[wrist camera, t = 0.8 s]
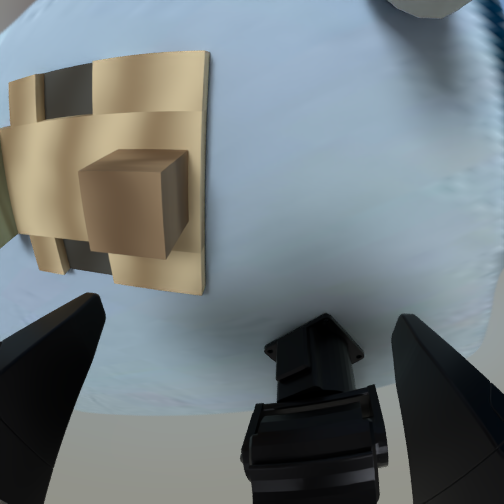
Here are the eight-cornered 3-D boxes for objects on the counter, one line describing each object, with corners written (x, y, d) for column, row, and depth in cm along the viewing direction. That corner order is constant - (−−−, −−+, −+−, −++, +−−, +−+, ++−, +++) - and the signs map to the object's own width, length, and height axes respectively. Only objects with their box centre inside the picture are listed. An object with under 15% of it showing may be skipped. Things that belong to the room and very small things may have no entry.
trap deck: (209, 52, 15) (189, 44, 11) (205, 285, 23) (192, 324, 20) (-4, 88, 16) (-41, 97, 12) (25, 259, 24) (-1, 284, 20)
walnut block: (188, 149, 17) (160, 172, 13) (188, 221, 19) (166, 260, 15) (118, 149, 17) (77, 171, 13) (123, 216, 19) (90, 250, 16)
